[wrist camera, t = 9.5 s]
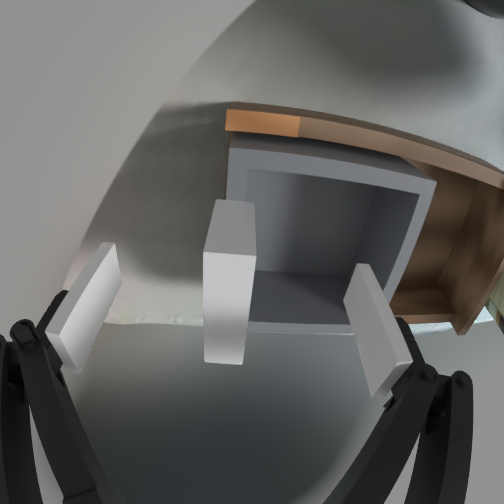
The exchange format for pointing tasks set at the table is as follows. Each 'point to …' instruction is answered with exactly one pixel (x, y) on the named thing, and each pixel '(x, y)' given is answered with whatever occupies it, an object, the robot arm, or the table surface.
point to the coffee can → (497, 303)
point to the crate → (303, 236)
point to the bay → (437, 218)
